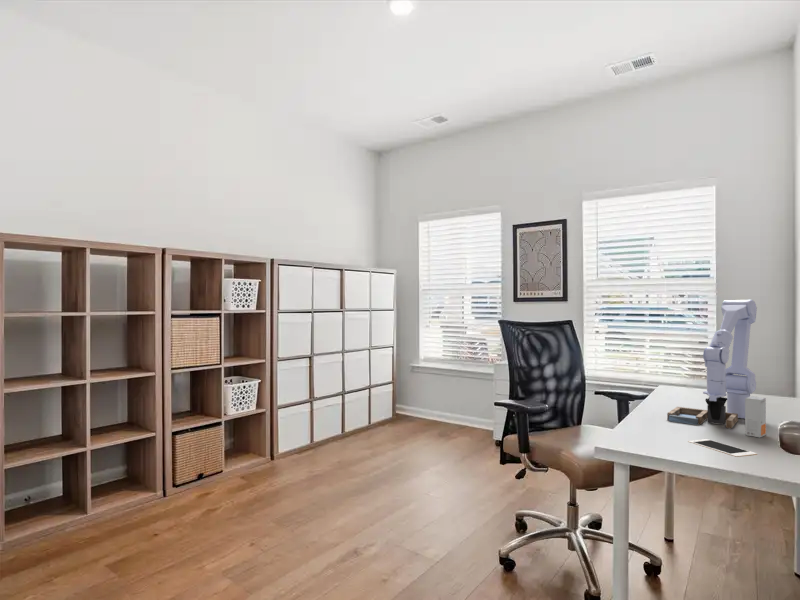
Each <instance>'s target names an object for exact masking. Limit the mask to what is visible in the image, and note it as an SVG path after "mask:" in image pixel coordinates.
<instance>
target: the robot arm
mask: <svg viewBox="0 0 800 600" xmlns="http://www.w3.org/2000/svg"><path fill="white" fill-rule="evenodd" d="M720 308H721V313H722V316H723V318H722V321H721V324H720V329H719V330H716V331H715V332H714V334H713V337H712V339H711V342H710V343H709V346H708V347H705V348H704V350H703V354H702V358H703V361H704V367H706V391H705V390H704V391H702V394H704V395H707V397H708V398H705V402H706V404H707V406H709V409H710V413H711V417H712V419H714V420H719V419H720V414H721V409H722V406H726V408H727V409H726V412H727V413H736V414H738V419H744V420H745V398H748V397H751V395H752V394H753V393H754V392H755V391H756V388H757V382H756V374H755V372H753V371H752V370H751V369H750V368H748V362H749V361H748V359H749V348H750V337H751V336H750V335H751V326H752V324H754V323H756V320H757V310H758V307H757V304H756V302H755V301H754V299H735V300H734V299H733V300H732V299H730V300H728V299H725V300H723V301H722V303H721V306H720ZM733 331H734V333H733V334H732V332H733ZM732 343H733V344H732ZM731 344H732V354H731V365H730V366H728V367H726V364H727V363H728V361H729V358H730V346H731Z"/></svg>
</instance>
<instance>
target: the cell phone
mask: <svg viewBox="0 0 800 600" xmlns="http://www.w3.org/2000/svg"><path fill="white" fill-rule="evenodd" d="M687 442H688V443H690V444H694V445H697V446H701V447H704V448H707V449H710V450H713V451H716V452H719V453H722V454H727V455H729V456H731V457H737V458H738V457H739V458H741V457H747V456H748V457H749V456H757V455H758V453H757V452H753V451H750V450H747V449H743V448H740V447H736V446H733V445H731V444H727V443H723V442H720V441H716V440H712V439H709V438H708V439H707V438H706V439H705V438H704V439H694V440H688V441H687Z"/></svg>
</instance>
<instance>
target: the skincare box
mask: <svg viewBox="0 0 800 600" xmlns="http://www.w3.org/2000/svg"><path fill="white" fill-rule="evenodd" d="M766 400H767V399H766V397H761V396H753V395H750V397H748V398H745V419H744V420H745V421H744V425H745V426H744V427H745V429H744V430H745V431H744V433H745V434H744V435H745V436H748V437H755V438H762V437H764V436H766V435H767V419H766V417H767V412H766V411H767V408H766V407H767V405H766V404H767V403H766V402H767V401H766Z"/></svg>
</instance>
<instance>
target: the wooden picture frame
mask: <svg viewBox="0 0 800 600" xmlns="http://www.w3.org/2000/svg"><path fill="white" fill-rule="evenodd" d="M666 414H667V421H668V422H673V423H682V424H689V425H695V426H697V425H702V424H703V423H704V422H705V421H706V420H708V410H707V409H699V408H691V407H684V406H683V407H682V406H676V407H675V408H673V409H671V410H670V411H669V412H667V413H666ZM738 421H739V418H738V414H736V413H727V411H726V423H725V428H726V429H733V427H734V426H735V425H736V423H738Z"/></svg>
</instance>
